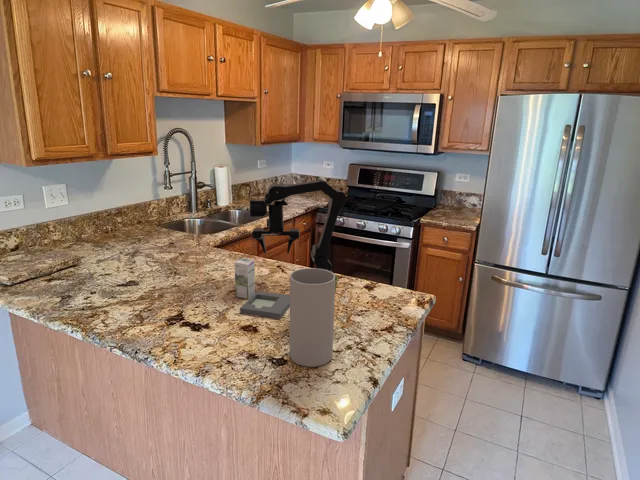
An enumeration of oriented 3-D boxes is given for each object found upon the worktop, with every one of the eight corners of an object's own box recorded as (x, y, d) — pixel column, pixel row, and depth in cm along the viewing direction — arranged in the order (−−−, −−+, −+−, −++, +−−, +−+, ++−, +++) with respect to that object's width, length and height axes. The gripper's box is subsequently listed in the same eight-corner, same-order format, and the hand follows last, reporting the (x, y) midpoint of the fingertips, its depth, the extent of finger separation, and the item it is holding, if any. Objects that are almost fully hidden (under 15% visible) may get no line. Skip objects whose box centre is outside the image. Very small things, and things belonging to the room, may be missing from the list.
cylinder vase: (282, 362, 121) (282, 280, 114) (299, 341, 132) (300, 265, 125) (323, 372, 117) (326, 287, 110) (338, 350, 128) (341, 271, 121)
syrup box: (255, 294, 166) (254, 258, 162) (248, 300, 161) (247, 263, 157) (242, 291, 168) (241, 257, 164) (235, 297, 163) (233, 261, 159)
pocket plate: (294, 300, 161) (294, 295, 161) (280, 319, 146) (280, 313, 146) (257, 295, 165) (257, 290, 164) (240, 313, 150) (239, 308, 149)
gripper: (300, 212, 177) (300, 247, 181) (255, 211, 177) (256, 247, 181) (299, 218, 166) (299, 256, 171) (251, 218, 166) (252, 256, 170)
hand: (276, 253), depth 173 cm, fingers open, 9 cm apart
